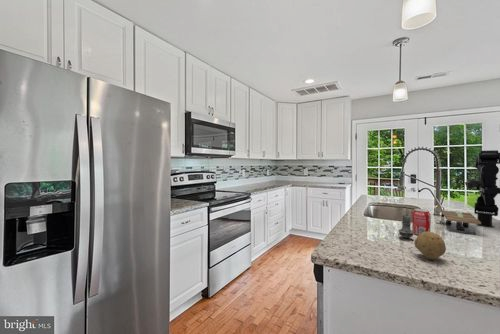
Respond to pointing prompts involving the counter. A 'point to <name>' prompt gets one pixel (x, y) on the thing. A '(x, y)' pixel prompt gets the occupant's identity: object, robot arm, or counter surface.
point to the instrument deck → (460, 217)
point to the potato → (430, 245)
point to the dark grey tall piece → (406, 229)
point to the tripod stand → (459, 227)
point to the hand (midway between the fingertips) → (487, 205)
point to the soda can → (421, 221)
